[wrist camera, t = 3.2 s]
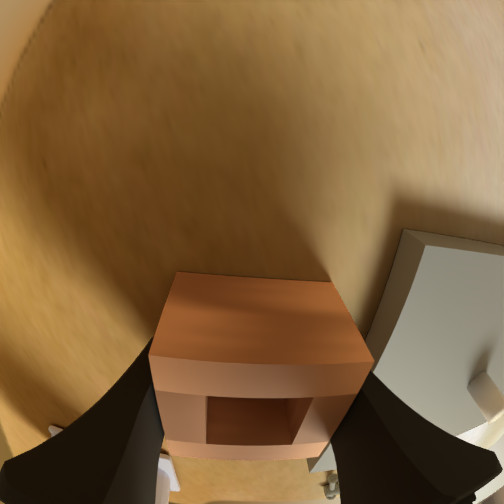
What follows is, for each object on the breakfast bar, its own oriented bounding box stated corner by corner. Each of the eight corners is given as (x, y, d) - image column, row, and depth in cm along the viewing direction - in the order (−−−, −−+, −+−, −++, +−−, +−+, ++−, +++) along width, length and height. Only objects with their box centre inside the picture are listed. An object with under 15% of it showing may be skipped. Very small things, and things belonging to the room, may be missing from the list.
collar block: (181, 378, 12) (170, 454, 8) (176, 271, 10) (148, 354, 6) (301, 382, 12) (318, 456, 9) (332, 282, 10) (374, 361, 6)
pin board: (306, 455, 16) (316, 510, 12) (403, 228, 9) (484, 294, 5) (479, 411, 17) (498, 444, 13) (566, 259, 11) (602, 288, 7)
